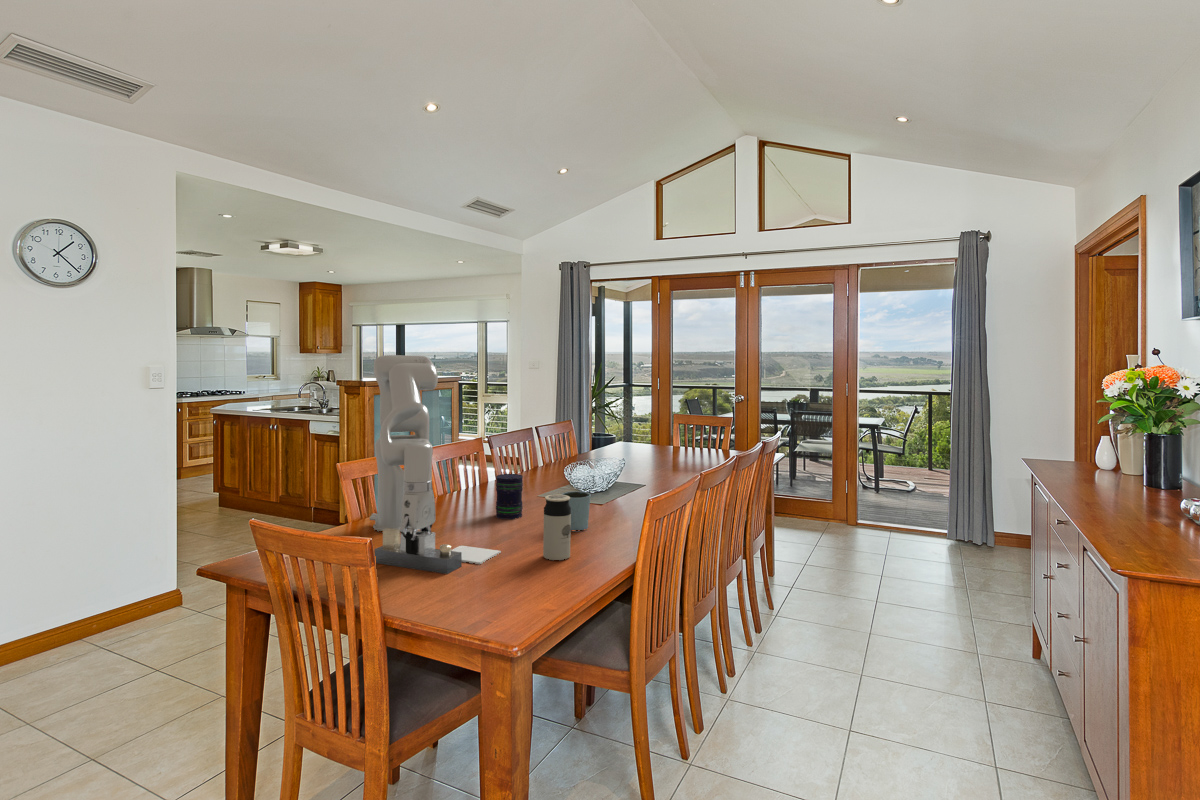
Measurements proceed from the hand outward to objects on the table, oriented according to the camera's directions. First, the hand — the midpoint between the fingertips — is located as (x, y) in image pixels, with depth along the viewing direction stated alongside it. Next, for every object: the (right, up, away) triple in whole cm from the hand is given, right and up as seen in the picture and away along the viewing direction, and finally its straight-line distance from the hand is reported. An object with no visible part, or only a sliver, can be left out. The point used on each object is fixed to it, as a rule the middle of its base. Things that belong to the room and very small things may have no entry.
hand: (417, 549), depth 181 cm
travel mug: (+38, -5, +10) cm, 40 cm away
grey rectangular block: (0, 0, 0) cm, 0 cm away
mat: (+13, -4, +9) cm, 16 cm away
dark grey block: (0, -4, 0) cm, 4 cm away
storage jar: (+18, -1, +58) cm, 60 cm away
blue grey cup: (+43, -3, +42) cm, 60 cm away
